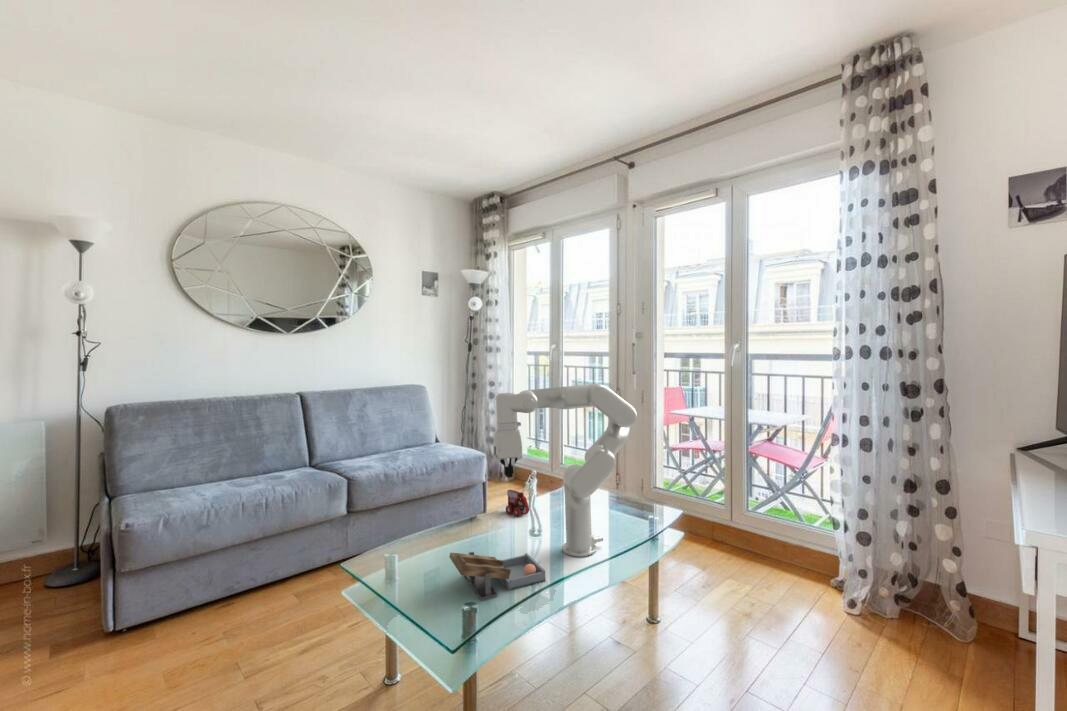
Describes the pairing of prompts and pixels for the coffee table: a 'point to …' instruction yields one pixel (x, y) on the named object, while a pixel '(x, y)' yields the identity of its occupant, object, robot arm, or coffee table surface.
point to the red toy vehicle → (516, 503)
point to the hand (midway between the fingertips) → (509, 476)
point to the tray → (522, 572)
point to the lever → (479, 565)
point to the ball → (529, 569)
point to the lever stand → (482, 585)
